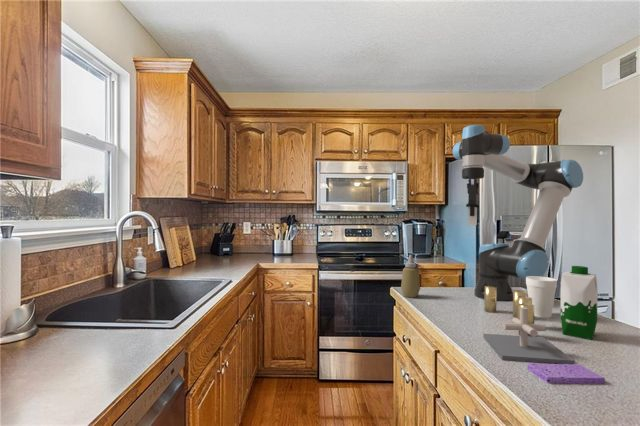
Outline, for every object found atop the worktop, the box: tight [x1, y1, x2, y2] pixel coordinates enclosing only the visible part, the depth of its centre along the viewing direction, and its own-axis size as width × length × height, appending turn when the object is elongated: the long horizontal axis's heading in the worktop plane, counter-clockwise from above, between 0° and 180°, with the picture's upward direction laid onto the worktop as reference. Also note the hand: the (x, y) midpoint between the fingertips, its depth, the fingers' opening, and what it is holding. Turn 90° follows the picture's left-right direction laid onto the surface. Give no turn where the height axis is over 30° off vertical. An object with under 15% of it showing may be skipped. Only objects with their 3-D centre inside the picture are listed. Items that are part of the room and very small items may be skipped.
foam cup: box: [525, 276, 558, 318], centre depth 125 cm, size 10×9×13 cm
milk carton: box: [560, 265, 599, 341], centre depth 105 cm, size 9×9×20 cm
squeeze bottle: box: [400, 254, 421, 298], centre depth 151 cm, size 8×8×18 cm
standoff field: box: [483, 286, 535, 337], centre depth 116 cm, size 12×30×9 cm, turn 170°
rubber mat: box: [482, 333, 575, 365], centre depth 93 cm, size 16×16×1 cm
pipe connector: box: [502, 307, 546, 347], centre depth 93 cm, size 10×10×10 cm
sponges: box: [527, 362, 606, 384], centre depth 78 cm, size 7×13×2 cm, turn 90°
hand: (472, 225), depth 130 cm, fingers open, 13 cm apart
